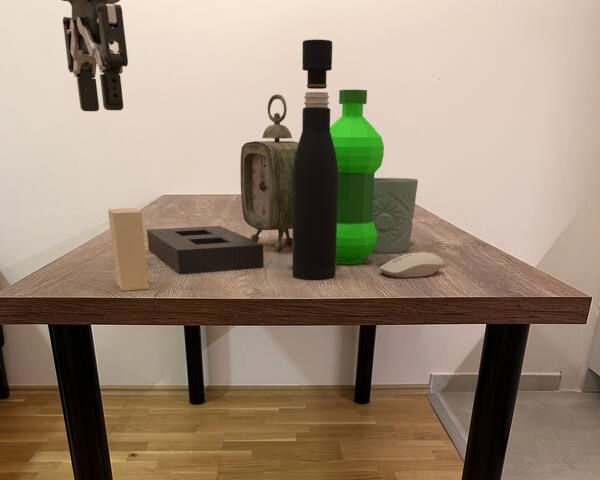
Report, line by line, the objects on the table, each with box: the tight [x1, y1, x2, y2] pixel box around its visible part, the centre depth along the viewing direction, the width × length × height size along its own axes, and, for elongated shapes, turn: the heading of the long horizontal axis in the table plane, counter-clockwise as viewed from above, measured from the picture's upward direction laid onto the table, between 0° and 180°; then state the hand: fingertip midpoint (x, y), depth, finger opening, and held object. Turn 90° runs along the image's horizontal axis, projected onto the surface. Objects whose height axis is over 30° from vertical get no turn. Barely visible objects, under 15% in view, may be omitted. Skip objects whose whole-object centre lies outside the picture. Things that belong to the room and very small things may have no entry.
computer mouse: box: [379, 252, 444, 279], centre depth 96 cm, size 6×10×3 cm, turn 111°
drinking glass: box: [372, 177, 419, 254], centre depth 114 cm, size 10×10×12 cm
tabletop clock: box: [239, 94, 299, 253], centre depth 113 cm, size 14×9×25 cm, turn 27°
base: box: [146, 225, 265, 275], centre depth 107 cm, size 14×23×4 cm, turn 23°
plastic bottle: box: [330, 89, 385, 265], centre depth 100 cm, size 10×10×25 cm
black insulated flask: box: [292, 39, 338, 281], centre depth 89 cm, size 6×6×30 cm
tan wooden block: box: [107, 207, 150, 292], centre depth 86 cm, size 4×5×10 cm
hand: (101, 110), depth 79 cm, fingers open, 8 cm apart
